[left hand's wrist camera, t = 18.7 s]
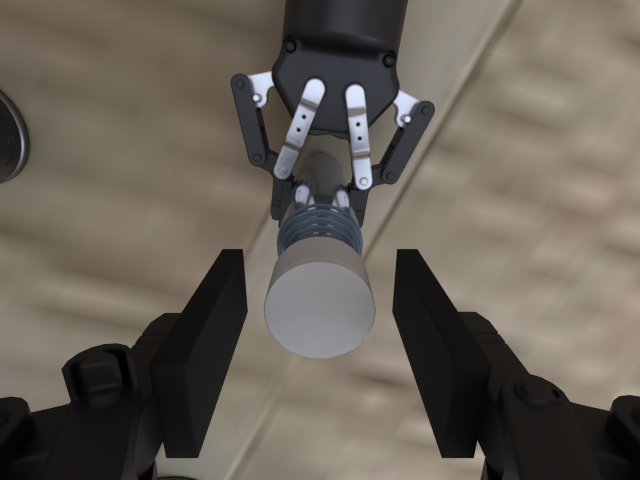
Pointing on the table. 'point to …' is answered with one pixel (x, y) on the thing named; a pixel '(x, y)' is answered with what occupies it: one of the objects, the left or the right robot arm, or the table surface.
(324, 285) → the cap
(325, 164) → the bottle
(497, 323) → the table surface
